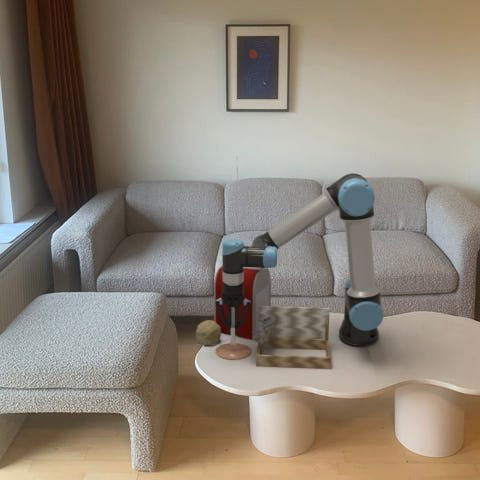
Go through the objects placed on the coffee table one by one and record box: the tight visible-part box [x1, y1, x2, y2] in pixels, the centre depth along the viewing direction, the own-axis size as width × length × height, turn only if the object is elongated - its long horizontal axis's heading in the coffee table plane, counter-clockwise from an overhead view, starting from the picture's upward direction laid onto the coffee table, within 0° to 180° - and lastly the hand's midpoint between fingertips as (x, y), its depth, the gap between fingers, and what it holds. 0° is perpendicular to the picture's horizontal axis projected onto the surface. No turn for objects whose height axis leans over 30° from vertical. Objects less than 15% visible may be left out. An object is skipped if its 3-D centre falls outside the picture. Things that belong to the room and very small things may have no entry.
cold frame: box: [255, 305, 332, 370], centre depth 237 cm, size 26×17×16 cm, turn 86°
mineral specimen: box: [252, 316, 277, 350], centre depth 239 cm, size 15×8×4 cm
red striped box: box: [213, 264, 272, 341], centre depth 259 cm, size 16×18×27 cm
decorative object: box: [195, 319, 222, 346], centre depth 251 cm, size 9×10×10 cm
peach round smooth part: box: [215, 342, 252, 361], centre depth 243 cm, size 13×13×1 cm
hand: (233, 343), depth 243 cm, fingers closed
